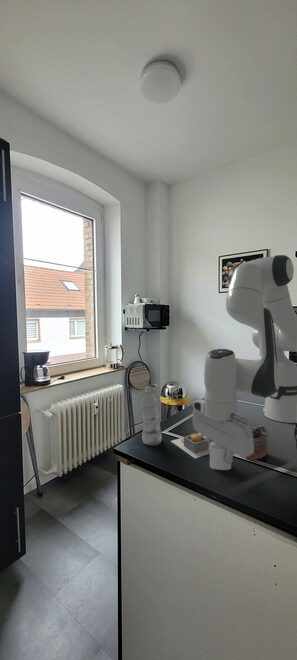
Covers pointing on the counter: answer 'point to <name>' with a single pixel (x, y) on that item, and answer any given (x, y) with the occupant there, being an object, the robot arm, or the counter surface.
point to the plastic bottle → (151, 416)
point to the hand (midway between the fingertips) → (220, 457)
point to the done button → (196, 437)
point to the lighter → (258, 443)
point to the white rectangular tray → (193, 446)
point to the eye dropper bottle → (218, 457)
